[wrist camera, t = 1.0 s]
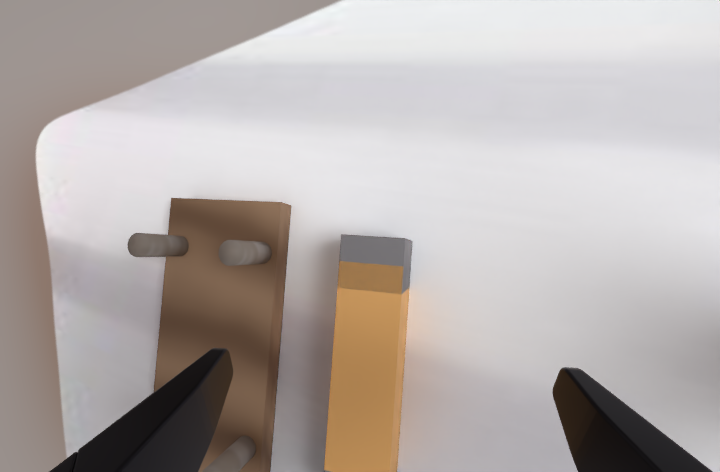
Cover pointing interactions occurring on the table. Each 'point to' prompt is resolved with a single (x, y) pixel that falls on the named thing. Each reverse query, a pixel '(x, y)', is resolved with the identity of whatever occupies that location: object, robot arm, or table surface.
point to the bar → (368, 354)
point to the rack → (225, 313)
